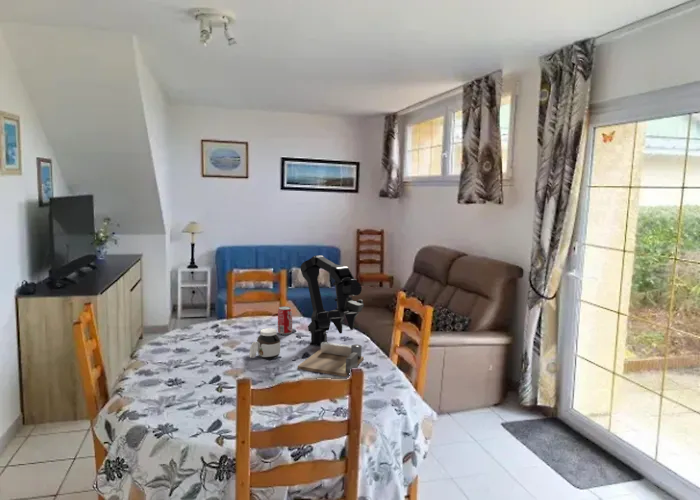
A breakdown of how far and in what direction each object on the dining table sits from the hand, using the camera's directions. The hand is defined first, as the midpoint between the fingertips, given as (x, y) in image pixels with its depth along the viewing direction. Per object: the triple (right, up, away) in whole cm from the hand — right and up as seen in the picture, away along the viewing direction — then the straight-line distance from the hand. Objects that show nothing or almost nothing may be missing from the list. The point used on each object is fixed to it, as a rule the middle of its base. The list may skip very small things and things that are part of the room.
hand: (346, 331), depth 214 cm
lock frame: (-6, -12, -7) cm, 16 cm away
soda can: (-31, -7, +34) cm, 46 cm away
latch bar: (-2, -10, 0) cm, 10 cm away
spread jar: (-36, -11, 0) cm, 37 cm away
